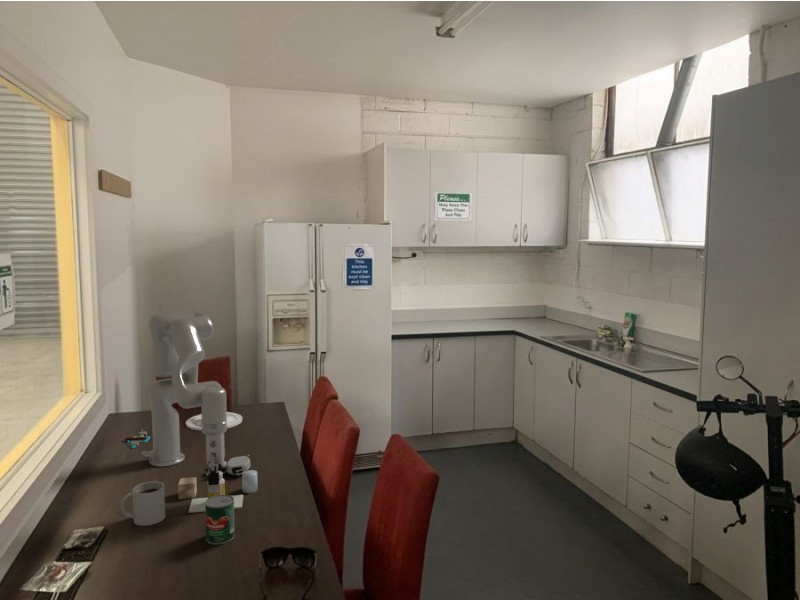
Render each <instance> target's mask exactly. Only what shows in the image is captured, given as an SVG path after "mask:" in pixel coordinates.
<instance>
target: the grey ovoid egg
mask: <svg viewBox="0 0 800 600" xmlns="http://www.w3.org/2000/svg"><path fill="white" fill-rule="evenodd" d="M241 481H242V482H241V483H242V485H241V486H242V489H241V490H242V493H244V494H253V493H256V492H258V489H259V487H258V471H257V470H255V469H250V470H249V469H248V470H247V471H244V472H243V473H242V474H241Z"/></svg>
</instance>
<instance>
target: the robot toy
mask: <svg viewBox="0 0 800 600" xmlns="http://www.w3.org/2000/svg"><path fill="white" fill-rule="evenodd" d="M249 457H250V454H248V455H246V456H245V455H242V456H234V457H232V458H230V459H229V460H228V461H226V460H224V462H223V464H222V471H221V472H222V473H223V474H226V473H227V474H229V475H233V476H234V475H236V476H240V475H241V476H242V473H243V472H244V471H248V470H249V469H250V468H251V466H252V465H251V459H250V458H249ZM207 471H208V472H207V473H206V474H205V475H206V476H207V477H208V473H209V466H208V467H207Z"/></svg>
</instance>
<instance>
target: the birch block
mask: <svg viewBox="0 0 800 600" xmlns="http://www.w3.org/2000/svg"><path fill="white" fill-rule="evenodd" d="M177 486H178V488H177V489H178V490H177V491H178V499H179V500H183V499H184V500H186V499H196V495H197V492H198V489H197V488H198V486H197V477H196V476H195V477H182V478H180V479H179V481H178V484H177Z"/></svg>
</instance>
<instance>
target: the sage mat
mask: <svg viewBox="0 0 800 600" xmlns="http://www.w3.org/2000/svg"><path fill="white" fill-rule="evenodd" d="M231 496H232V497H233V498H234V510H239V509H242V508H243V502H244V494H236V495H231ZM207 499H208V497H198V498H196V497H195V498H191V502H190V505H189V508H188V514H190V513H191V514H192V513H203V512H205V501H206V500H207Z"/></svg>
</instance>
